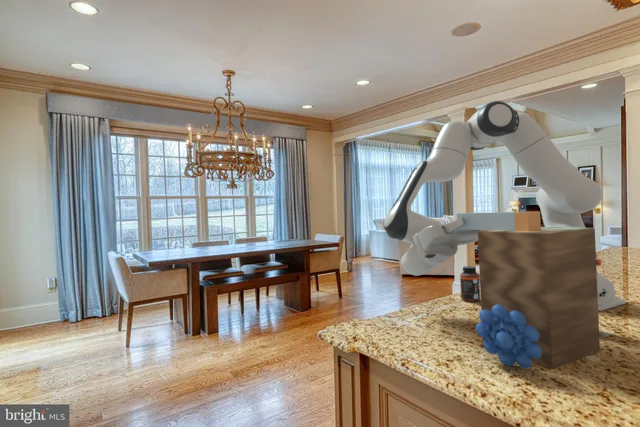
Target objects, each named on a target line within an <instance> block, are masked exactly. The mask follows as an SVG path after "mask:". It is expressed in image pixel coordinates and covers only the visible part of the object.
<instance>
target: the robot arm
mask: <svg viewBox="0 0 640 427" xmlns="http://www.w3.org/2000/svg"><path fill="white" fill-rule="evenodd" d="M496 142H499V143H502V144H503V145H504V146H505V147H506V148H507V150H508V151H509V152H510V154H511V156H512V157H513V159H514V160H515V161H516V163H517V165H518V166H519V167H520V168H521V170H522V171H523V173H524V174H525V175H526V176H527V177H528V178H529V179H531V180H532V181H533V182H534V183H536V185H538V186H539V187H540V188H539V189H538V190H537V191H536V195H535V202H536V203H537V205H538V207H539V208H540V215H541V218H542V222H543V225H544V227H568V228H587V227H586V226H585V224H584V221H583V218H582V214H583V213H587V212H589V211H592V210H594V209H595V208H597V207H598V206H599V205H600V204H601V202H602V198H603V191H602V188H601V186H600V185H599V183H597V182H596V181H594V180H593V179H592V178H588V177H587V176H586V175H584V174H583V173H582V172H581V171H580V170H579V169H578V168H576V167H575V166H574V165H573V164H572V163H571V162H570V161H569V160H568V159H567V158H566V157H565V156H563V154H562V152H560V150H559V149H558V147H557V146H556V145H555V144H554V143H553V141H552V140H551V138H550V137H549V135H548V134H547V133H546V131H545V130H544V129H543V128H542V127H541V125H540V124H539V123H537V121H535V119H534V118H532V117H531V116H530V115H529V114H528V113H525V112H518V111H517V110H516V109H514V108H513V107H512V106H511V105H509V104H508V103H507V102H504V101H501V100H494V101H490V102H488V103H486V104H485V105H482V106H481V108H480V109H478V110H477V111H476V112H474V113H473V114H472V115H471V116H470V118H469V119H467V121H466V122H463V121H460V120H454V121H453V120H452V121H448V122H446V123H445V124H444V125H443V126H442V128H441V129H440V131H439V133H438V135H437V137H436V139H435V142H434V143H433V146H432V149H431V152H430V153H429V156H428V158H426V159H425V160H422V161H420V162H418V163H417V165H416V166H415V167H414V168H413V170H412V172H411V173H410V174H409V176H408V178H407V180H406V182H405V184H404V185H403V187H402V189H401V191H400V193H399V195H398V197H397V199H396V200H395V202H394V204H393V205H392V206H391V208H390V210H388V213H387V215H386V217H385V218H384V222H383V228H384V230H385V233H386V234H387V237H389V238H390V239H395V240H397V241H398V240H399V241H402V242H405V243H408V244H411V245H410V246H409V248H408V250H407V251H405V253H404V254H403V255H402V256H401V258H400V265H401V267H402V268H403V269H404V271H406V272H407V273H408V274H410V275H412V276H422V275H424V274H426V273H429V272H431V271H432V270H434V269H435V268H436V267H437V266H438V264H443V263H444V262H446V261H448V259H450V258H452V257H454V256H455V255H456V254H457V253H458V249H459V248H458V247H459V246H464V245H470V244H473V243H474V242H475V243H476V242H477V241H478V231H480V230H466V229H458V228H459V227H463V226H464V225H465V224H466V223H467V222H466V220H465V218H458V219H457V218H456V220H454V221H451V222H449V223H446V224H443V223H441V222H440V221H438V220H437V219H434V218H433V217H432V218H431V217H429V216H427V215H423V214H421V213H417V212H415V211H413V210H412V208H411V207H412V205H413V203H414V201H415V200H416V197H417V195H418V194H419V192H420V190H421V189H422V188H421V187H422V186H423V185H425V184H427V183H444V182H451V181H454V180H455V179H457V178H459V177H460V175H462V172H463V171H464V169H465V166H466V164H467V159H468V157H469V154H470V150H471V151H472V150H473V151H477V150H478V151H479V150H483V149H486V147H488V146H490V145H492V144H494V143H496ZM602 264H603V261H602V260H601V259H599V258H598V259H597V258H596V267H597V266H598V267H601V266H602ZM597 293H598V312H599V311H600V312H601V311H605V310H609V309H611V308H614V307H617V306H622V305H625V304H626V302H627V301H626V300H625V299H624V298H621V297H618V296H616V289H615V286H614V283H613V282H612V281H610V280H609V279H607V278H606V277H605V276H603V275H602V274H601V273H599V272H598V271H597Z"/></svg>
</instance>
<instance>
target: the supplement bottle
mask: <svg viewBox="0 0 640 427" xmlns="http://www.w3.org/2000/svg"><path fill="white" fill-rule="evenodd" d="M462 271H463V272H461V273H460V274H459V278H460V279H459V281H460V297H461V298H460V299H461V300H462V301H465V302H470V303H475V302H479V301H481V292H480V274H479V273H478V272H477V268H476V266H472V265H467V266H466V265H465V266H463V267H462Z"/></svg>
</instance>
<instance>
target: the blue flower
mask: <svg viewBox="0 0 640 427" xmlns="http://www.w3.org/2000/svg"><path fill="white" fill-rule="evenodd" d="M478 313H479V314H478V315H479V320H480V321H481V322H478V323H477V324H476V325H475V330H476V333H477V334H478V336H480V337H481V338H482V339H483V338H486V339H484V341H483V340H482V344H483V346H482V347H483V348H484V350H485V351H486V352H487V353H489V354H490V355H496V354H497V358H498V359H499V361H500V362H501V363H502V364H503V365H505V366H507V367H510V366H513V365H515V363H516V364H517V365H518V366H519V367H521V368H524V369H527V368H531V367H532V364H533V361H531V358H534V359H536V358H540V357H541V355H542V351H541V348H540V347H539V346H538V345H537V344H536V343H534V342H536V341H538V340H539V338H540V336H539V332H538V331H537V330H536V329H535V328H534V327H533V326H530V325H525V324H526V318H525V316H524V315H523V314H522V313H521V312H519V311H516V310H514V311H511V312H510V313H509V314H508V311H507V309H506V308H505V307H504V306H501V305H498V304H497V305H494V306H493V307H492V312H491V311H489V310H486V309H484V310H480V311H479V312H478ZM482 322H483V323H482ZM530 357H531V358H530Z"/></svg>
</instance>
